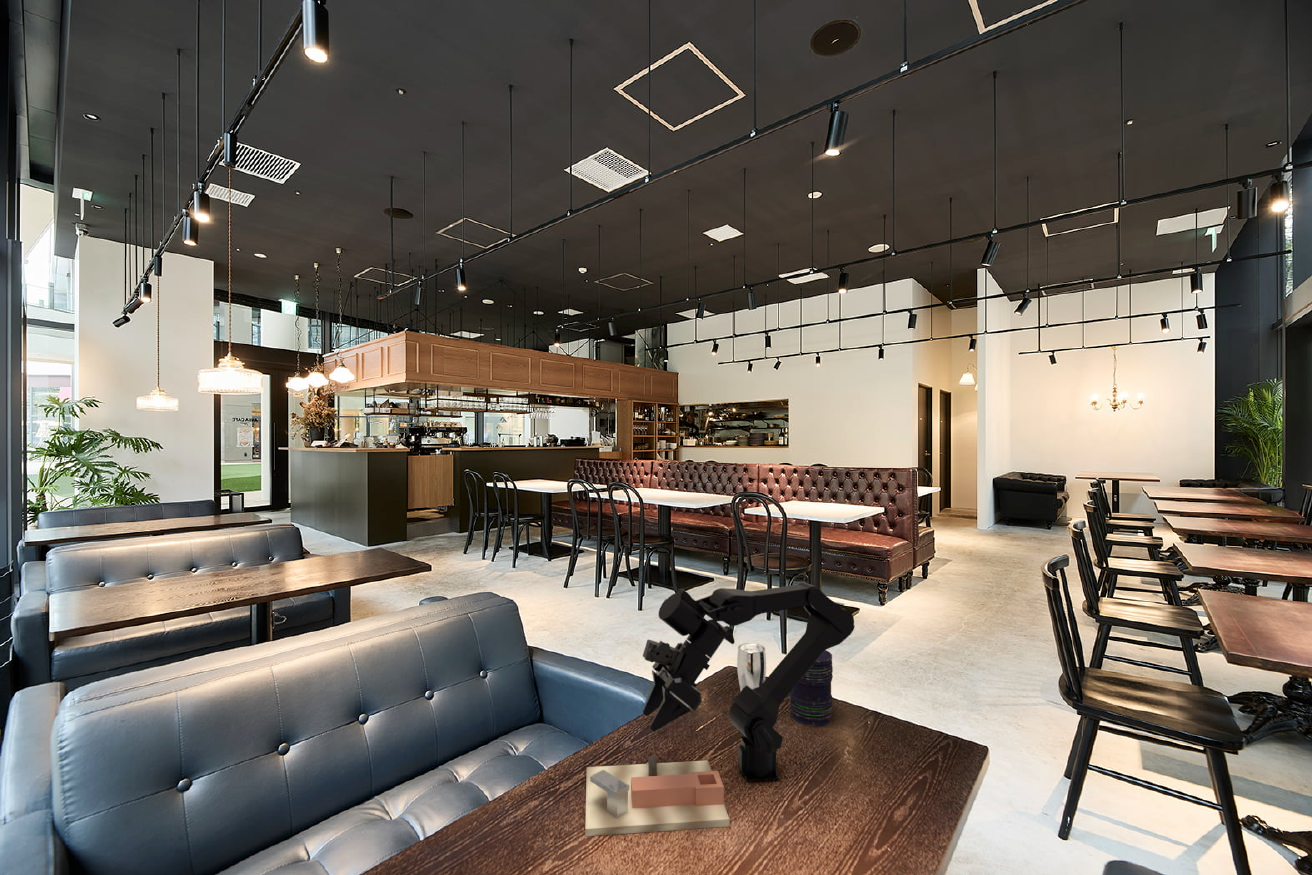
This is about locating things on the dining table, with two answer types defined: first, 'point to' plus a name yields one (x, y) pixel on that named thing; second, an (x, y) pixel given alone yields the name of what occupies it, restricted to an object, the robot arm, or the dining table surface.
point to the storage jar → (814, 694)
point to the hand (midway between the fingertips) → (647, 721)
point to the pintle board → (649, 816)
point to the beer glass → (751, 665)
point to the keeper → (613, 792)
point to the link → (677, 790)
